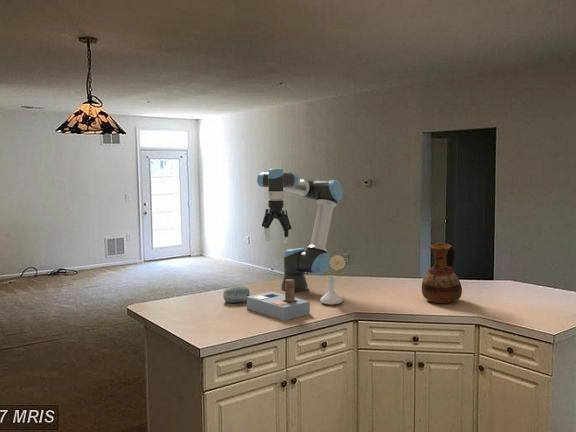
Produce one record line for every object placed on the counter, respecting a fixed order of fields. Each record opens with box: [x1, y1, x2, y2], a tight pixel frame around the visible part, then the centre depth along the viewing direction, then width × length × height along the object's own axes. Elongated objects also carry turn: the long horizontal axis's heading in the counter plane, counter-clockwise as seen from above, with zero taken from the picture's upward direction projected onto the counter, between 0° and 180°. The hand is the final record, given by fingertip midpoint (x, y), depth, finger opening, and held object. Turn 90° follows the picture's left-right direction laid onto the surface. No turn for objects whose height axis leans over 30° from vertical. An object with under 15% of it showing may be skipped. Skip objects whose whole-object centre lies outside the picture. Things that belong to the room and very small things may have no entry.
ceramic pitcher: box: [421, 242, 463, 304], centre depth 263 cm, size 20×20×30 cm
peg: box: [284, 279, 296, 303], centre depth 242 cm, size 4×4×16 cm
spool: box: [222, 285, 251, 304], centre depth 264 cm, size 14×10×10 cm
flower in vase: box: [319, 254, 346, 305], centre depth 259 cm, size 13×11×25 cm
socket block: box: [246, 291, 311, 322], centre depth 246 cm, size 28×16×6 cm, turn 41°
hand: (276, 242), depth 256 cm, fingers open, 13 cm apart
